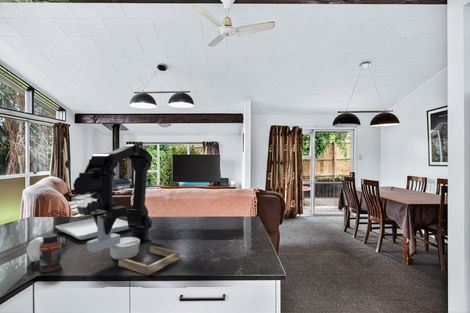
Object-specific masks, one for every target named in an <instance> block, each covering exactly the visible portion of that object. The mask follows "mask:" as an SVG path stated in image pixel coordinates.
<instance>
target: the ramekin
mask: <svg viewBox="0 0 470 313" xmlns="http://www.w3.org/2000/svg"><path fill="white" fill-rule="evenodd" d="M140 245H141V244H140V239H138V238H135V237H132V236H126V237H120V243H119V244H116V245H114V246H111V247H109V253H110V257H111V258H112V259H114V260H119V258H125V259H128V260H129V259H131V258H134V257H135V256H137V255H138V253H139V250H140V249H139V248H140Z"/></svg>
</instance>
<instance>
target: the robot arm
mask: <svg viewBox="0 0 470 313" xmlns="http://www.w3.org/2000/svg"><path fill="white" fill-rule="evenodd" d="M127 158H128V160H129V161H130V162H131V167H132V169H133V171H134V184H133V197H132V199H133V200H132V206H131V207H130V209H129V208H128V207H127V206H123V205H116V203H115V202H114V200H113V199H114V198H113V197H114V196H116V192H115V191H113V177H115V176H116V175H117V174H116V172H115V171H113V170H114V169H115V168H117V167H118V166H119V163H120V162H122V161H124V160H126V159H127ZM152 162H153V156H152V154H151V153H150V152H149V151H148V150H146V149H145V148H143V147H141V146H140V145H139V144H137V143H134V144H133V143H130V144H129V143H128V144H126V145H124V146H122V147H119V148H117V149H115V150H113V151H110V152H103V153H95V154H93V155H92V156H91V158H90V161H89V162H88V164H87V166H86V168H85V170H84V172H79V174H78V177H77V178H75V180H74V182H73V189H74V191H75V192H76V194H78V195H82V196H83V195H86V194H90V193H91V194H90V198H89V199H86V200H84V201H82V202H80V203H78V204H77V205H76V208H77V211H78V213H79V215H81V216H85V217H86V216H89V217H91V219H94V220H95V223H96V225H97V216H100V215H104V214H105V216H102V217H100V218H101V219H103V220H104V228H105V234H106V235H108V234H109V233H110V231H111V229H112V227H113V224H114V223H115V221H116V219H118V218H120V217H124V216H127V217H126V221H127V222H128V226H129V229H131V231H132V232H131V237H135V238H138V239H140V244H139V245H142V244H145V243H147V242H150V241H152V239H151V238H149V230H150V229H151V228H152V226H153V221H152V219H151V217H150V216H149V209H148V208H147V206H146V192H147V191H146V189H147V176H148V171H149V170H150V168H151V167H152Z"/></svg>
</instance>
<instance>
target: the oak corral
mask: <svg viewBox="0 0 470 313" xmlns="http://www.w3.org/2000/svg"><path fill="white" fill-rule="evenodd" d="M149 253H150V254H154V255H158V256H161V255H162V256H163V257H164V258H161V259H159V260H157V261H155V262H153V263H151V264H149V265H148V264H144V263H140V262H137V261H134V260H131V259H129V258H128V259H125V258H119V259H118V266H119V267H121V268H125V269H128V270H131V271H134V272H138V273H140V274H144V275H146V276H149V275H151V274H154V273H155V272H157V271H160V270H161V269H164V268H165V267H167V266H169V265H170V263H171V264H172V262H173V263H175V262H177V261H179V260H180V259H181V256H180V255H181V253H180V251H177V250H172V249H169V248H164V247H160V246H156V245H150V246H149ZM165 256H166V257H165ZM176 260H177V261H176ZM174 261H175V262H174ZM168 264H169V265H168ZM166 265H167V266H166ZM164 266H165V267H164Z"/></svg>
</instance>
